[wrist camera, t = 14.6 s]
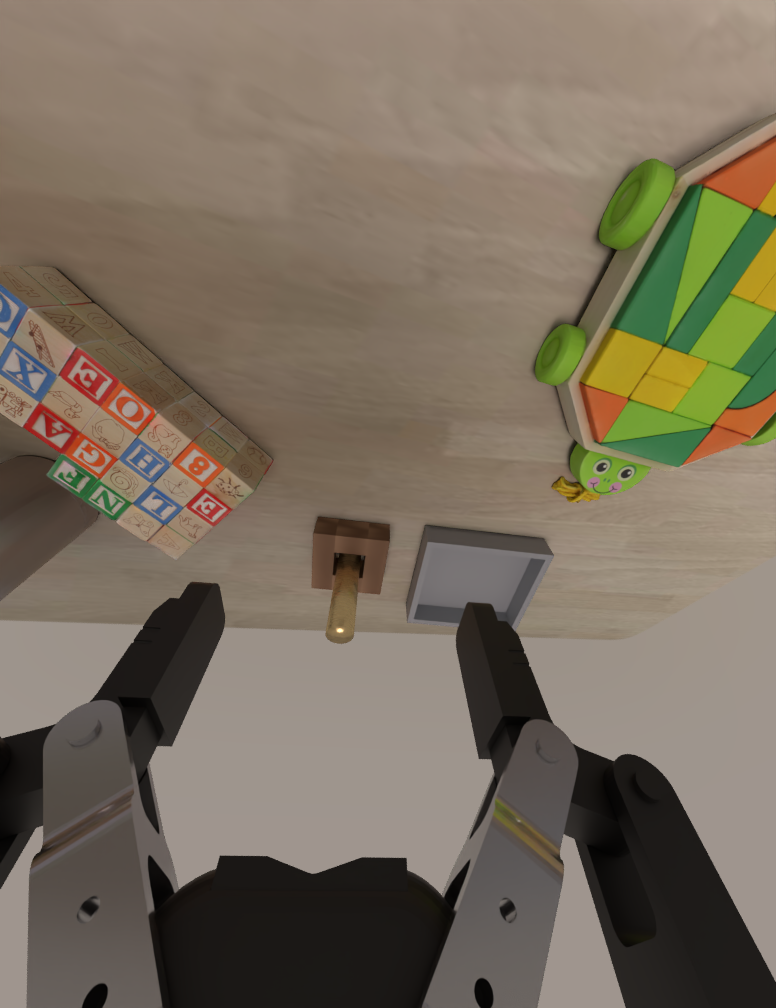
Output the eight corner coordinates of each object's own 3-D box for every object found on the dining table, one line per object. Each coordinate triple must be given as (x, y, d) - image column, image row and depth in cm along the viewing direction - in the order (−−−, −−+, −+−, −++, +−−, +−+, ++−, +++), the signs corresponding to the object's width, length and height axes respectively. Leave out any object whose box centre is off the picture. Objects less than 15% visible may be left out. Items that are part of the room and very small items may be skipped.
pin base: (315, 569, 43) (311, 587, 41) (318, 516, 39) (313, 533, 37) (380, 576, 44) (380, 594, 42) (389, 524, 40) (389, 541, 37)
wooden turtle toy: (478, 472, 37) (492, 500, 32) (659, 89, 22) (731, 39, 18) (655, 518, 40) (691, 550, 35) (914, 211, 25) (1033, 196, 21)
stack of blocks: (55, 263, 27) (-7, 372, 31) (-27, 260, 21) (-89, 392, 26) (275, 461, 36) (203, 524, 40) (255, 493, 30) (175, 562, 34)
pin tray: (406, 603, 47) (407, 622, 44) (425, 525, 40) (427, 541, 37) (507, 613, 48) (514, 632, 45) (543, 538, 41) (554, 555, 38)
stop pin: (339, 555, 42) (324, 642, 32) (341, 538, 41) (326, 624, 31) (360, 557, 42) (352, 644, 32) (362, 541, 41) (354, 626, 31)
